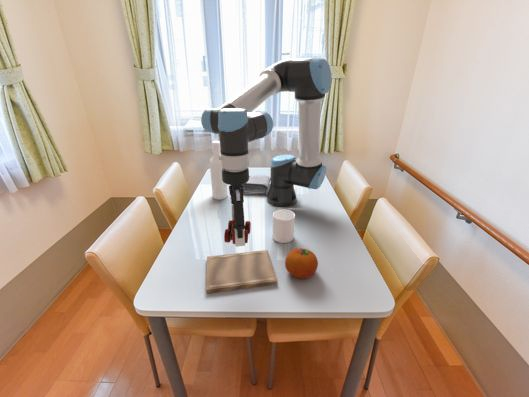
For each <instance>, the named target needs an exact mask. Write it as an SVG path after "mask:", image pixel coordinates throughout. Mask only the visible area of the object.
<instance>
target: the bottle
mask: <svg viewBox="0 0 529 397" xmlns="http://www.w3.org/2000/svg"><path fill="white" fill-rule="evenodd" d="M211 146H212V156H211V157H210V160H209V167H210V168H209V170H210V180H211V181H210V182H211V192H212V195H211V196H212V198H213V199H215V200H224V199H226V198H228V194H229V193H228V184H225V183H224V182H223V181H222V169H223V168H222V166H221V160H219V159H218V158H219V157H220V156H221V152H220V140H213V141H212V142H211Z"/></svg>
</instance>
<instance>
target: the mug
mask: <svg viewBox="0 0 529 397" xmlns="http://www.w3.org/2000/svg"><path fill="white" fill-rule="evenodd" d="M295 220H296V214H295V212H294V211H292V210H289V209H285V208H284V209H278V210H275V211H274V212H272V238H273V240H274V241H276V242H277V243H281V244H287V243H290V242H292V241H293V240H294V237H295V236H294V235H295V224H296V221H295Z"/></svg>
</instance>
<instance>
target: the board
mask: <svg viewBox="0 0 529 397" xmlns="http://www.w3.org/2000/svg"><path fill="white" fill-rule="evenodd" d="M205 281H206V283H205V287H206V288H205V292H206V294H214V293H220V292H228V291H238V290H243V289H244V290H245V289H250V288H251V289H252V288H260V287H268V286H275V285H278V278H277V275H276V272H275V269H274V265H273V262H272V259H271V256H270V253H269V250H268V249H266V250H264V249H263V250H258V251H257V250H256V251H249V252H248V251H246V252H239V253H228V254H220V255H210V256H206V280H205Z"/></svg>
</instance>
